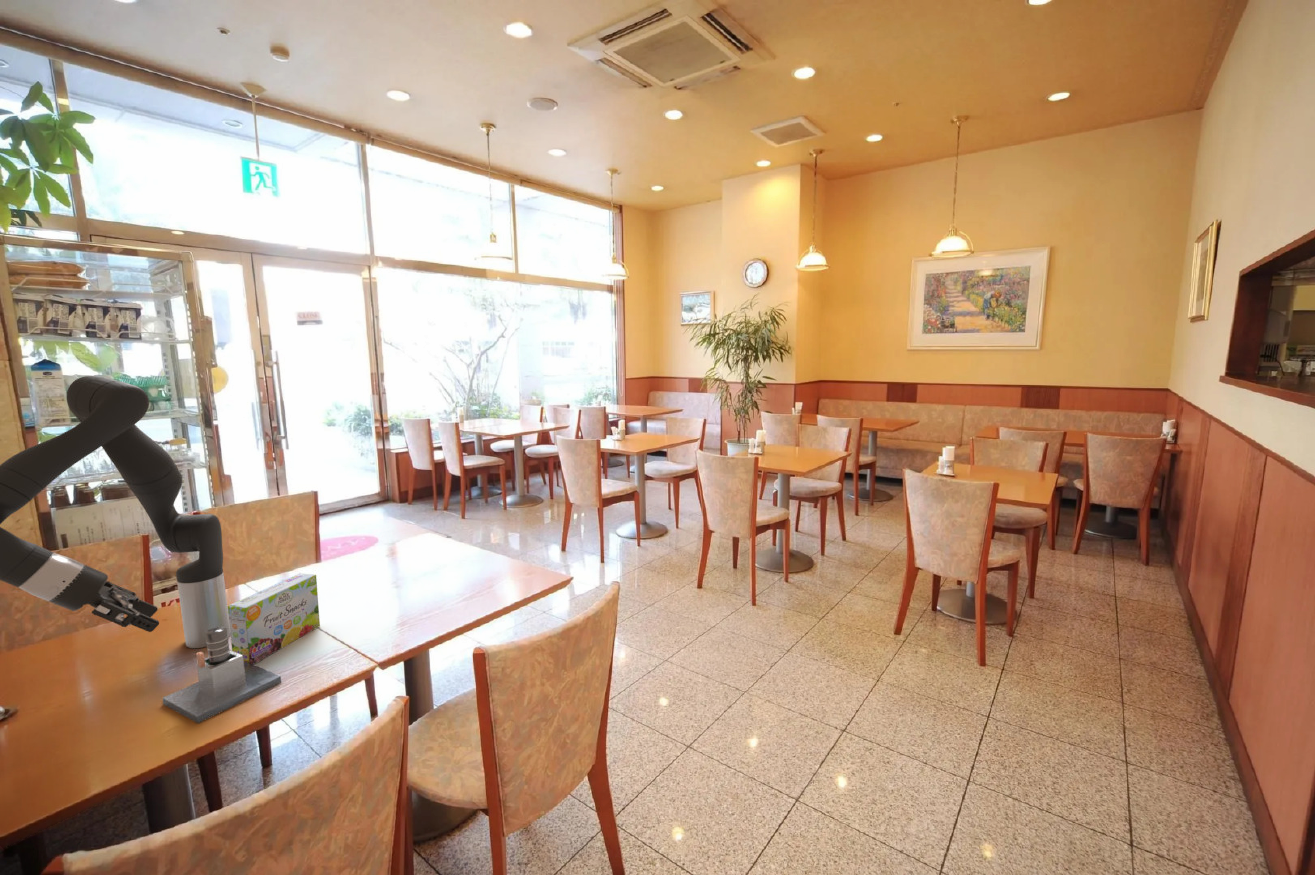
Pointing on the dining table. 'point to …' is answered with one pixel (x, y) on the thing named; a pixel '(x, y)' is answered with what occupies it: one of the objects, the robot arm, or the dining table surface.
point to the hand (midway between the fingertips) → (155, 619)
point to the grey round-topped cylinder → (217, 645)
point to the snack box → (274, 617)
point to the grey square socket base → (220, 687)
